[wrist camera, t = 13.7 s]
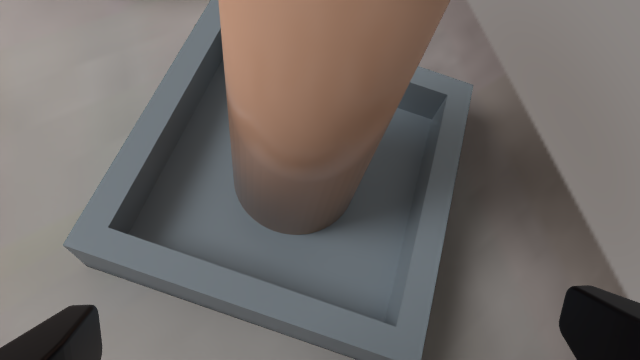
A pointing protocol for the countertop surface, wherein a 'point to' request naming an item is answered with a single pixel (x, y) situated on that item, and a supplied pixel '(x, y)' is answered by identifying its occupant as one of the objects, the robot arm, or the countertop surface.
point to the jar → (314, 98)
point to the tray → (270, 246)
